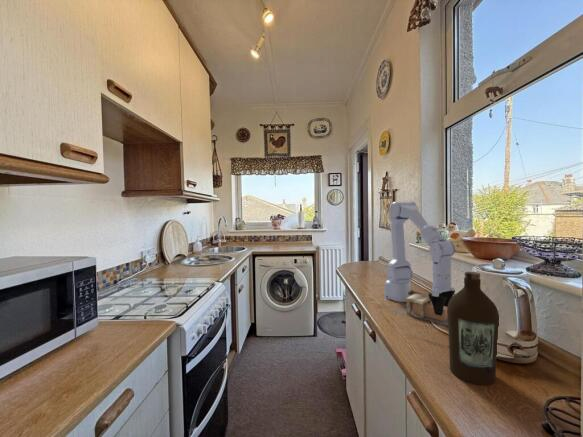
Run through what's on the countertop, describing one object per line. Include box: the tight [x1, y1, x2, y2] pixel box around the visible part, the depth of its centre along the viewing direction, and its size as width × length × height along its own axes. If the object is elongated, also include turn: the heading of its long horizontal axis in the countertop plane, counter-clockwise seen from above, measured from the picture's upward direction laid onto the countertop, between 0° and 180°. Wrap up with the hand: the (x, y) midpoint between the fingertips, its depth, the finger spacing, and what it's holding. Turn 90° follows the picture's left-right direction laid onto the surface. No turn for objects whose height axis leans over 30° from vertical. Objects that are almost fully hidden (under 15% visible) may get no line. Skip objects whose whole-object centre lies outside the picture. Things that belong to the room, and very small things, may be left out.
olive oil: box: [447, 271, 500, 386], centre depth 67 cm, size 11×11×25 cm
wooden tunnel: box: [405, 292, 432, 319], centre depth 105 cm, size 6×8×6 cm
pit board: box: [393, 304, 448, 326], centre depth 103 cm, size 21×10×1 cm, turn 44°
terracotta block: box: [412, 302, 448, 321], centre depth 102 cm, size 11×4×4 cm, turn 44°
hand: (442, 311), depth 99 cm, fingers open, 7 cm apart
